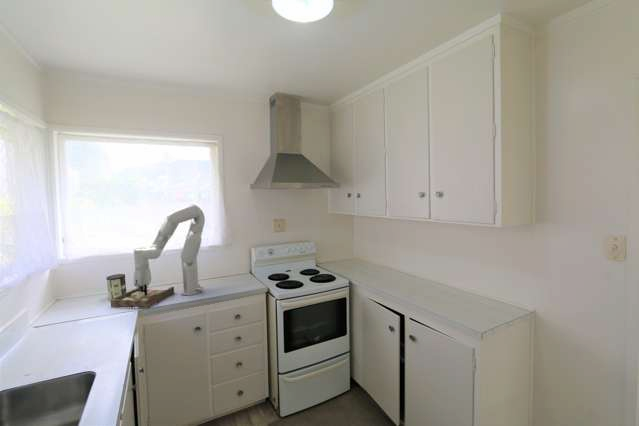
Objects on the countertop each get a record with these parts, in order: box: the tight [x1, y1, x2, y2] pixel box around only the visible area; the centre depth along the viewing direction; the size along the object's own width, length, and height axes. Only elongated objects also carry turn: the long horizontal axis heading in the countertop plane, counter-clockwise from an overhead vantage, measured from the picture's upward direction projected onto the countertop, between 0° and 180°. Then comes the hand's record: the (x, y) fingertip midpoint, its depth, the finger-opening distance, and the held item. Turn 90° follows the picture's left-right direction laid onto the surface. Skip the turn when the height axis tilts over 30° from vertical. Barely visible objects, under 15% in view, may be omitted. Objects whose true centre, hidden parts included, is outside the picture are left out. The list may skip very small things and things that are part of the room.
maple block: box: [131, 292, 145, 300], centre depth 183 cm, size 5×5×4 cm
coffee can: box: [105, 273, 128, 300], centre depth 194 cm, size 10×10×14 cm
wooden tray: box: [109, 286, 175, 309], centre depth 187 cm, size 24×25×4 cm
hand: (144, 295), depth 187 cm, fingers closed
